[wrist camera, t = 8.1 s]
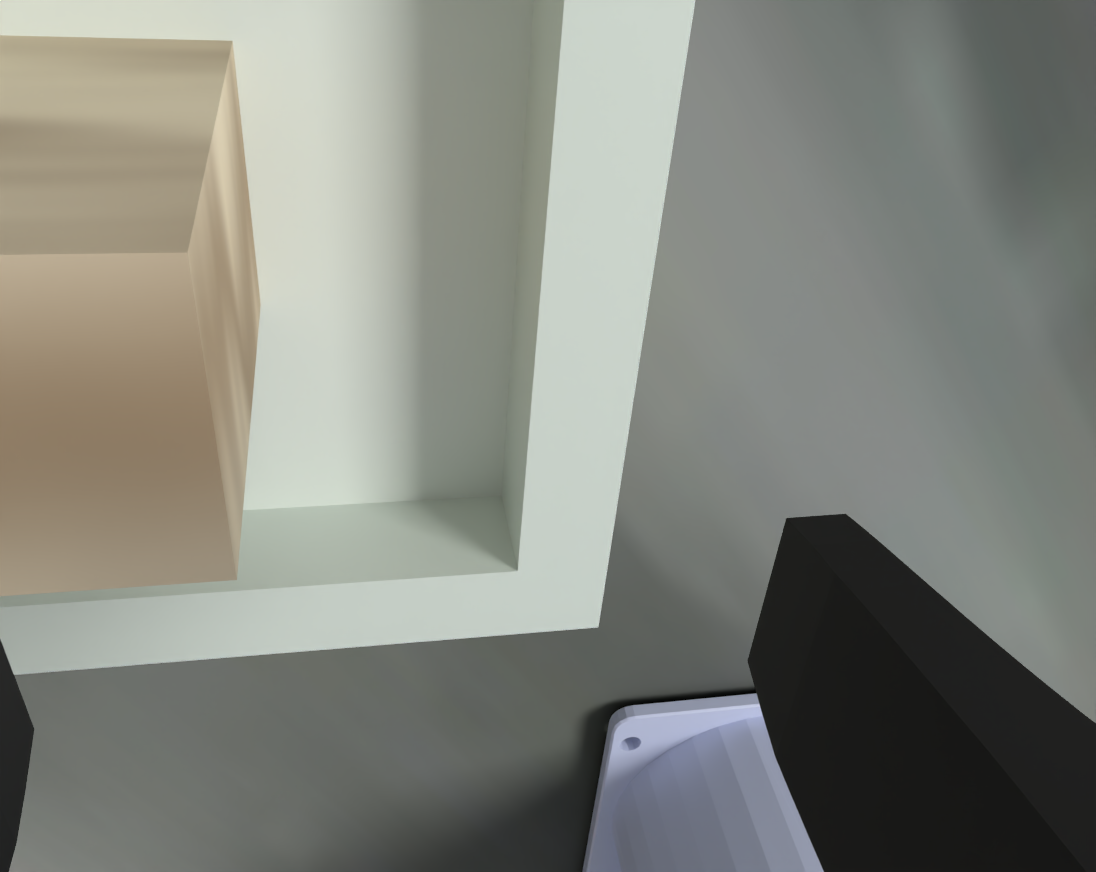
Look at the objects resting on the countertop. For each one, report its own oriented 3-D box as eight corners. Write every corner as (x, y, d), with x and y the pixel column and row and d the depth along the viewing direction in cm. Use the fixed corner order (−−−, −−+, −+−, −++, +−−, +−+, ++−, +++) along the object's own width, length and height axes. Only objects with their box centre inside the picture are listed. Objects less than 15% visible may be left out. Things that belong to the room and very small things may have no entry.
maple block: (260, 304, 16) (236, 579, 11) (-19, 310, 15) (-167, 607, 11) (232, 40, 14) (187, 252, 9) (-100, 32, 13) (-338, 259, 8)
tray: (572, 535, 21) (598, 627, 19) (-272, 589, 18) (-343, 704, 16) (692, -445, 12) (766, -460, 10) (-974, -640, 9) (-1334, -718, 7)
